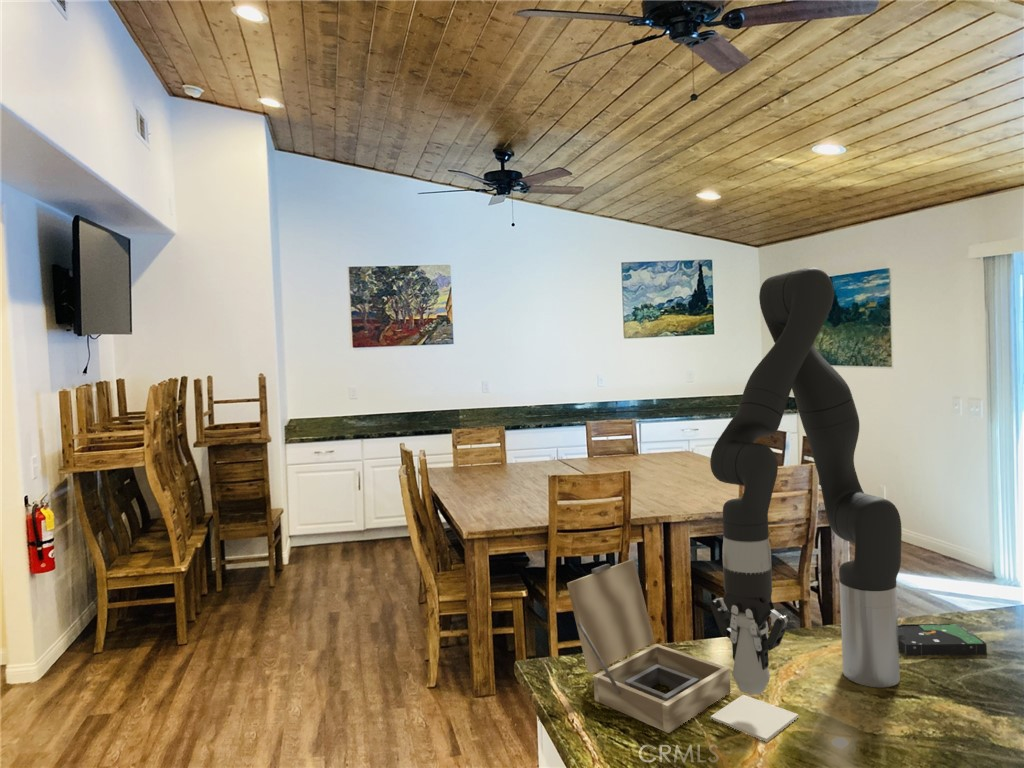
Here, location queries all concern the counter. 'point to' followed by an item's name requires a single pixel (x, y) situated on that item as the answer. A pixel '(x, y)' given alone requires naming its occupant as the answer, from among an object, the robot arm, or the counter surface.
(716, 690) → the case
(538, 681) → the counter surface
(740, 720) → the tile
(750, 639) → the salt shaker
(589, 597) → the lid
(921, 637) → the disk drive
